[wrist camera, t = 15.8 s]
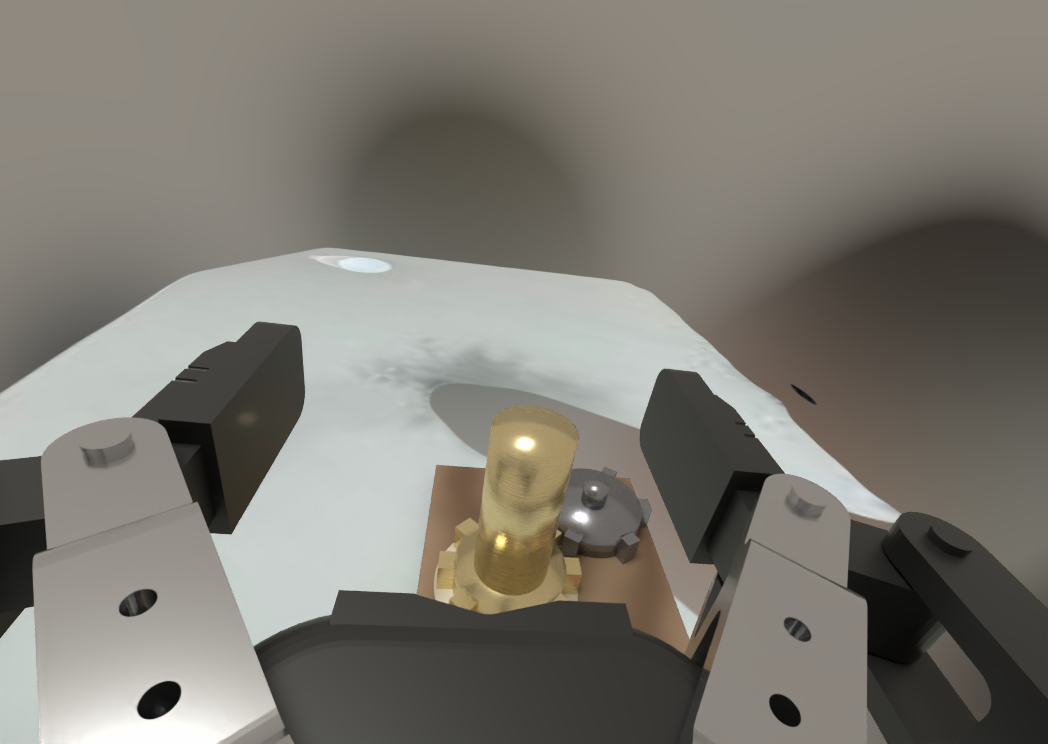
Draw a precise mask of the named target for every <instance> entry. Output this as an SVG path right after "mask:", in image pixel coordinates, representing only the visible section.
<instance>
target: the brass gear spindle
mask: <svg viewBox="0 0 1048 744" xmlns="http://www.w3.org/2000/svg"><path fill="white" fill-rule="evenodd" d="M578 440H579V434H578V431H577V429H576V427H575V426H574V424H573V423H572V422H571V421H570V420H569V419H567V418H566V417H565V416H563V415H562V414H560V413H558V412H555V411H553V410H550V409H547V408H543V407H539V406H531V405H521V406H514V407H510V408H507V409H504V410H502V411H500V412H499V413H498V414H497V415H496V416H495V417H494V419H493V421H492V425H491V433H490V440H489V448H488V455H487V463H486V471H485V478H484V486H483V493H482V501H481V509H480V516H479V524H477V523H476V522H475V521H474V520H472V519H471V518H468V519H467V520H465V521H464V522H462V523H461V524H459V525H458V526H456V528H455V537H454V547H455V548H456V549H457V550H456V552H453V551H440V554H439V562H438V572H437V584H436V589H452V591H453V595H454V596H452V597H451V598H450V599H449V604H451V605H454V606H458V607H461V608H464V609H468V610H471V611H475V612H478V613H482V614H496V613H501V612H506V611H511V610H516V609H520V608H525V607H530V606H535V605H540V604H544V603H549V602H554V601H559V600H562V601H570V600H568V599H567V598H566V597H565V596H564V595H562V594H577V591H578V587H579V584H580V580H581V577H582V572H581V567H580V562H579V558H570V557H563V554H562V552H561V550H560V549H559V543H560V539H561V535H562V533H561V532H560V531H559V530H557V529H558V524H559V520H560V516H561V512H562V508H563V503H564V499H565V495H566V491H567V487H568V482H569V478H570V474H571V470H572V466H573V461H574V457H575V453H576V449H577V444H578Z"/></svg>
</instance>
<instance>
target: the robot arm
mask: <svg viewBox="0 0 1048 744" xmlns="http://www.w3.org/2000/svg"><path fill="white" fill-rule="evenodd" d="M304 398H305V384H304V370H303V355H302V341H301V333H300V330H299V328H298V327H297V326H294V325H285V324H276V323H267V322H256V323H255V324H254V325H253V326H252V327H251V328H250V329H249V330H248V331H247V332H246V333H245V334H244V335H243V336H242V337H241V338H240V339H239V340H238V341H237V342H228V341H227V342H225V343H223V344H221V345H218V346H216V347H214V348H212V349H209V350H207V351H205V352H203V353H202V354H201V355H200V356H199V357H198V358H197V359H195V360H194V361H193V362H192V363H191V364H190V365H189V366H188V369H184V370H183V371H182V372H181V373H180V374H179V375H178V376H177V377H176V379H175V381H171V382H170V383H169V384H168V385H167V386H166V387H165V388H163V389H162V390H161V391H160V392H159V393H158V394H157V395H156V396H155V397H154V398H152V399H151V400H150V401H149V402H148V403H147V404H146V405H145V406H144V407H142V408H141V409H140V410H139V411H138V412H137V413H136V414H135V415H134V416H133V417H131V418H115V419H108V420H102V421H98V422H94V423H91V424H88V425H85V426H82V427H79V428H77V429H74V430H72V431H70V432H68V433H66V434H64V435H63V436H61V437H59V438H58V439H56V440H55V441H54V442H53V443H51V444H50V445H49V446H48V447H47V449H46V450H45V451H44V453H43V455H42V456H38V457H29V458H20V459H10V460H1V461H0V638H1V637H2V635H3V634H4V633H5V632H6V631H7V629H8V628H9V627H10V626H11V625H12V623H13V622H14V621H15V620H16V618H17V617H18V616H19V615H20V614H21V612H22V611H23V610H24V609H25V608H28V607H33V606H34V614H35V637H36V660H37V683H38V706H39V729H40V744H867V708H868V710H869V711H870V713H871V715H872V717H873V719H874V720H875V722H876V723H877V725H878V727H879V729H880V731H881V732H882V734H883V736H884V738H885V740H886V742H887V743H888V744H1048V609H1047V608H1046V607H1045V606H1044V605H1043V604H1042V603H1041V602H1040V601H1039V600H1038V599H1037V598H1036V597H1035V596H1034V595H1033V594H1032V593H1031V592H1030V591H1029V590H1028V589H1027V588H1026V587H1024V585H1022V583H1021V582H1019V581H1018V580H1017V579H1016V578H1015V577H1014V576H1013V575H1012V574H1011V573H1010V572H1009V571H1008V570H1007V569H1006V568H1005V567H1004V566H1003V565H1002V564H1001V563H1000V562H999V561H998V560H997V559H996V558H995V557H994V556H993V555H992V554H991V553H989V551H988V550H987V549H985V548H984V547H983V546H982V545H981V544H980V543H979V542H977V541H976V540H975V539H974V538H972V537H971V536H969V535H968V534H967V533H965V532H964V531H962V530H960V529H959V528H957V527H955V526H953V525H952V524H950V523H948V522H945V521H943V520H941V519H939V518H936V517H933V516H931V515H927V514H923V513H918V512H907V513H903V514H901V515H900V516H899V518H898V519H897V520H896V522H895V523H894V524H893V526H892V527H891V529H890V530H889V531H887V530H883V529H880V528H877V527H874V526H870V525H867V524H864V523H861V522H857V521H854V520H851V519H850V516H849V513H848V511H847V510H846V508H845V507H844V506H843V504H842V503H841V502H840V501H839V500H838V499H837V498H836V497H835V496H833V495H832V494H831V493H830V492H828V491H827V490H825V489H824V488H822V487H820V486H819V485H817V484H815V483H813V482H811V481H809V480H806V479H804V478H801V477H798V476H794V475H789V474H785V473H784V472H783V470H782V469H781V468H780V467H779V465H778V464H777V463H776V461H775V460H774V459H773V458H772V456H771V455H770V454H769V452H768V451H767V450H766V449H765V447H764V446H763V445H762V443H761V442H760V441H759V440H758V438H755V434H754V433H753V432H752V431H751V429H750V428H749V427H748V426H745V424H746V423H745V422H744V420H743V419H742V418H741V416H740V415H739V414H738V413H737V411H736V410H735V409H734V408H733V407H732V406H730V405H729V404H728V403H726V402H725V401H723V400H722V399H721V398H719V397H718V396H717V395H714V394H713V393H712V391H711V390H710V389H709V387H708V386H707V385H706V383H705V382H704V381H703V379H702V378H701V377H700V375H699V374H698V373H696V372H690V371H681V370H673V369H663V370H662V371H661V372H660V373H659V375H658V377H657V379H656V382H655V385H654V388H653V391H652V394H651V397H650V400H649V403H648V406H647V409H646V412H645V415H644V418H643V421H642V424H641V429H640V446H641V449H642V452H643V454H644V457H645V459H646V461H647V464H648V466H649V468H650V470H651V473H652V475H653V478H654V480H655V482H656V485H657V487H658V489H659V492H660V494H661V496H662V499H663V501H664V503H665V506H666V508H667V510H668V513H669V515H670V517H671V520H672V522H673V524H674V527H675V529H676V531H677V533H678V536H679V538H680V541H681V543H682V545H683V548H684V550H685V552H686V555H687V557H688V559H689V562H690V563H699V564H714V565H715V567H716V569H717V573H716V575H715V577H714V579H713V581H712V583H711V585H710V588H709V590H708V593H707V596H706V598H705V601H704V604H703V606H702V609H701V612H700V614H699V617H698V620H697V622H696V625H695V627H694V630H693V633H692V635H691V638H690V641H689V643H688V646H687V649H686V651H685V654H683V653H682V652H680V651H679V650H677V649H676V648H674V647H673V646H671V645H670V644H668V643H666V642H664V641H662V640H660V639H658V638H657V637H655V636H652V635H650V634H648V633H645V632H643V631H640V630H638V629H635V628H632V625H631V622H630V618H629V614H628V610H627V607H626V603H605V602H583V601H562V600H559V601H554V602H549V603H544V604H540V605H535V606H530V607H525V608H520V609H516V610H511V611H506V612H501V613H496V614H482V613H478V612H475V611H471V610H468V609H464V608H461V607H458V606H454V605H451V604H447V603H444V602H440V601H437V600H434V599H430V598H427V597H423V596H420V595H416V594H410V593H388V592H366V591H344V590H339V592H338V595H337V598H336V602H335V605H334V608H333V612H332V615H329V616H324V617H319V618H316V619H312V620H309V621H306V622H303V623H299V624H297V625H295V626H292V627H290V628H288V629H285V630H283V631H280V632H278V633H277V634H275V635H273V636H271V637H269V638H267V639H265V640H263V641H262V642H260V643H258V644H257V645H255V646H254V647H253V645H252V642H251V639H250V637H249V634H248V631H247V629H246V626H245V624H244V621H243V618H242V616H241V613H240V611H239V608H238V605H237V603H236V600H235V597H234V595H233V592H232V590H231V587H230V584H229V582H228V579H227V577H226V574H225V571H224V569H223V566H222V563H221V561H220V558H219V556H218V553H217V550H216V548H215V545H214V543H213V540H212V537H211V535H210V533H217V534H232V532H233V531H234V529H235V527H236V525H237V524H238V522H239V520H240V519H241V517H242V515H243V514H244V512H245V510H246V508H247V507H248V505H249V503H250V502H251V500H252V498H253V496H254V495H255V493H256V491H257V490H258V488H259V486H260V484H261V483H262V481H263V479H264V478H265V476H266V474H267V472H268V471H269V469H270V467H271V466H272V464H273V462H274V460H275V459H276V457H277V455H278V454H279V452H280V450H281V449H282V447H283V445H284V443H285V442H286V440H287V438H288V437H289V435H290V433H291V431H292V430H293V428H294V426H295V425H296V423H297V421H298V419H299V417H300V415H301V412H302V409H303V405H304ZM946 630H947V631H948V633H949V634H950V635H951V636H952V637H953V639H954V640H955V641H956V643H957V644H958V645H959V646H960V647H961V649H962V650H963V651H964V653H965V654H966V655H967V656H968V658H969V659H970V660H971V661H972V663H973V664H974V665H975V666H976V668H977V669H978V670H979V671H980V673H981V674H982V675H983V677H984V678H985V680H986V682H987V685H988V687H989V690H990V693H991V700H992V701H991V708H990V711H989V713H988V714H987V715H986V716H985V717H984V718H983V719H982V720H981V721H980V722H978V721H977V720H976V719H975V717H974V716H973V715H972V713H971V712H970V710H969V709H968V708H967V706H966V705H965V704H964V702H963V701H962V699H961V698H960V697H959V695H958V694H957V693H956V692H955V690H954V689H953V687H952V686H951V684H950V683H949V682H948V680H947V679H946V678H945V677H944V675H943V673H942V672H941V671H940V670H939V668H938V667H937V665H936V664H935V662H934V661H933V660H932V658H931V657H930V656H929V654H928V653H927V652H926V651H927V650H928V649H929V648H930V647H931V646H932V645H933V644H934V643H935V642H936V641H937V639H938V638H939V637H940V636H941V635H942V634H943V633H944V632H945V631H946Z"/></svg>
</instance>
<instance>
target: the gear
mask: <svg viewBox="0 0 1048 744" xmlns="http://www.w3.org/2000/svg"><path fill="white" fill-rule="evenodd" d="M616 474H617V472H616V471H613V470H610V469H608V468H606V467H604V468H603V470H602V472H600V471H596V470H591V469H572V470H571V474H570V478H569V482H568V487H567V491H566V495H565V499H564V503H563V508H562V512H561V516H560V520H559V524H558V529H557V530H559V531H560V532H561V533H562V535H561V539H560V543H559V545H561V552H562V554H563V556H564V557H570V558H576V557H577V555H582V556H585V557H590V558H610V557H614V556H615V557H616V558H617V559H618V560H619V561H620V562H621V563H622V564H624V563H626V562H628V561H630V560H632V559H634V557H635V554H636V551H637V548H638V546H639V543H640V539H639V538H638V537H637V536H636V534H637V531H638V528H639V527H642V528H646V525H647V522H648V519H649V517H650V513H651V511H652V509H651V507H650V504H649V501H648V500H647V499H638V498H637V497H636V495H635V494H634V493H633V491H632V490H631V489H630V488H629V487H628V486H626V485H625V484H624V483H623V482H621V481H620V480H618V479H616V478H615V477H616Z"/></svg>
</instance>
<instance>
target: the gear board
mask: <svg viewBox="0 0 1048 744" xmlns="http://www.w3.org/2000/svg"><path fill="white" fill-rule="evenodd" d="M485 471H486V468H473V467H458V466H444V465H436V471H435V477H434V484H433V491H432V497H431V504H430V510H429V517H428V524H427V530H426V537H425V544H424V550H423V557H422V563H421V570H420V577H419V583H418V590H417V595H420V596H423V597H427V598H430V599H434V600H437V601H440V602H444V603H447V604H449V599H450V598H451V597H452V596H454V595H453V591H452V589H436V584H437V572H438V562H439V554H440V551H453V552H456V550H457V549H456V548H455V547H454V537H455V528H456V526H458V525H459V524H461V523H462V522H464V521H465V520H467V519H468V518H471V519H472V520H474V521H475V522H476V523H477V524H479V516H480V509H481V501H482V493H483V486H484V478H485ZM616 479H618V480H620V481H621V482H623V483H624V484H625V485H626V486H628V487H629V488H630V489H631V490H632V491H633V493H634V494H635V492H634V489H633V487H632V484H631V481H630V479H629V478H616ZM636 536H637V537H638V538H639V539H640V543H639V546H638V548H637V551H636V554H635V557H634V559H632V560H630V561H628V562H626V563H624V564H622V563H621V562H620V561H619V560H618V559H617V558H616V557H615V556H614V557H610V558H590V557H585V556H582V555H577V557H576V558H579V562H580V567H581V572H582V577H581V580H580V584H579V587H578V591H577V594H562V595H564V596H565V597H566V598H567V599H568V600H570V601H583V602H605V603H626V607H627V610H628V614H629V618H630V622H631V625H632V628H635V629H638V630H640V631H643V632H645V633H648V634H650V635H652V636H655V637H657V638H658V639H660V640H662V641H664V642H666V643H668V644H670V645H671V646H673V647H674V648H676V649H677V650H679V651H680V652H682V653H683V654H685V651H686V649H687V646H688V643H689V641H690V640H689V637H688V635H687V632H686V629H685V627H684V624H683V621H682V618H681V616H680V613H679V610H678V608H677V605H676V602H675V600H674V597H673V594H672V592H671V589H670V586H669V583H668V581H667V578H666V575H665V573H664V570H663V567H662V565H661V562H660V559H659V557H658V554H657V551H656V548H655V546H654V543H653V540H652V538H651V535H650V533H649V530H648V527H647V525H646V528H642V527H639V528H638V531H637V534H636ZM559 549H560V550H561V545H559ZM563 557H564V556H563Z"/></svg>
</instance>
